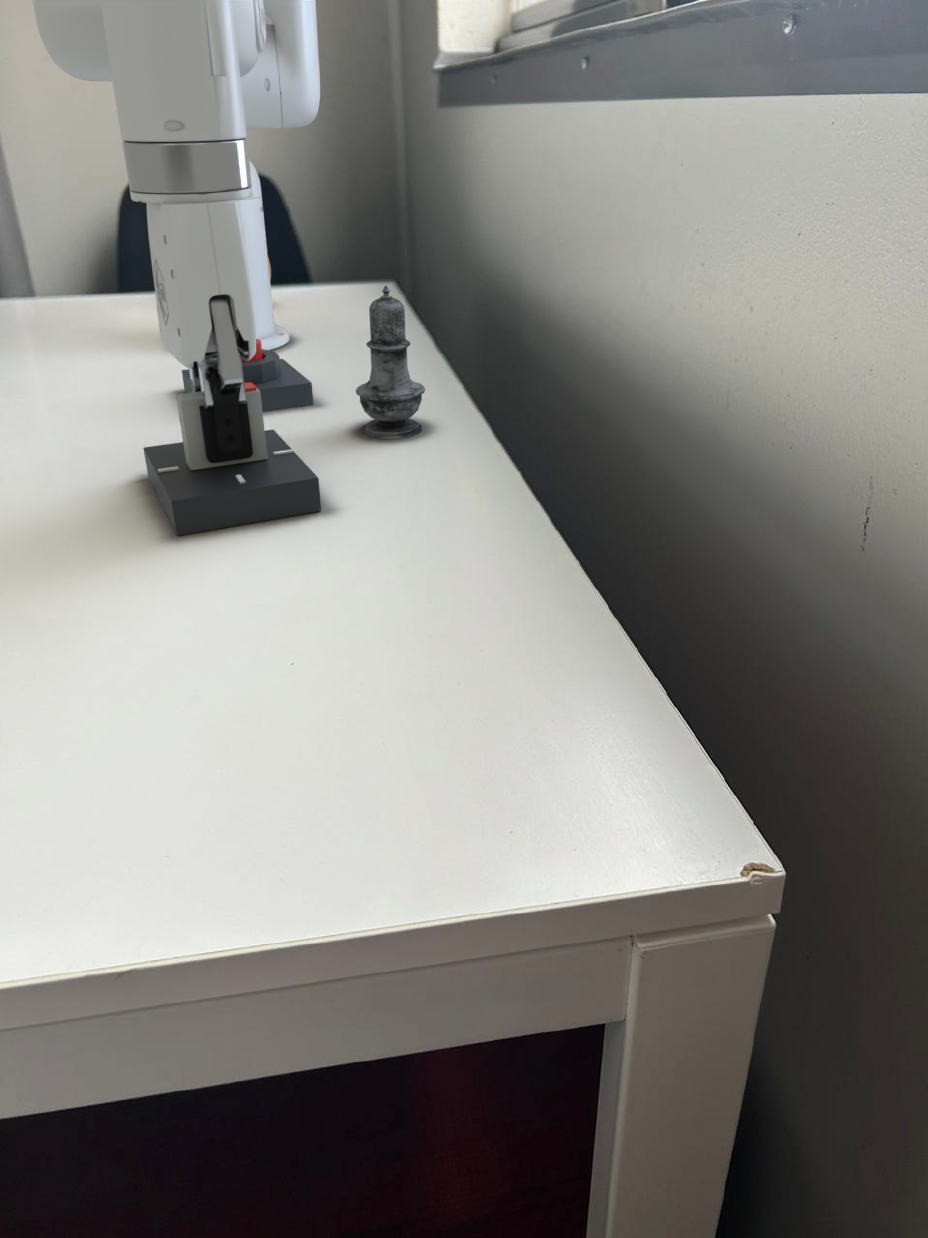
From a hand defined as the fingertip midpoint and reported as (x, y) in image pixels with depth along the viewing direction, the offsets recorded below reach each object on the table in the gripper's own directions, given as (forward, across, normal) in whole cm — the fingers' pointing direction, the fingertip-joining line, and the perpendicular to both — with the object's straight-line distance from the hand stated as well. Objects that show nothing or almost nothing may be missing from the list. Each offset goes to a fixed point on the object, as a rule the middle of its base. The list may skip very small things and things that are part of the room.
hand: (225, 451), depth 71 cm
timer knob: (+1, 0, 0) cm, 1 cm away
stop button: (0, -24, +7) cm, 25 cm away
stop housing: (+3, -24, +7) cm, 25 cm away
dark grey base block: (+3, 0, 0) cm, 3 cm away
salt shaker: (+3, -9, +16) cm, 19 cm away
